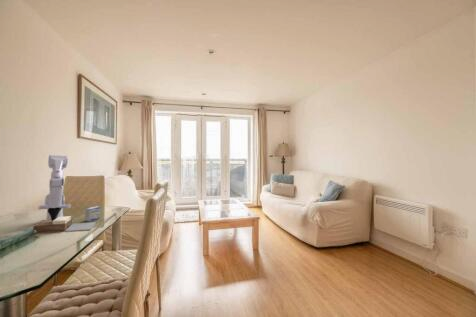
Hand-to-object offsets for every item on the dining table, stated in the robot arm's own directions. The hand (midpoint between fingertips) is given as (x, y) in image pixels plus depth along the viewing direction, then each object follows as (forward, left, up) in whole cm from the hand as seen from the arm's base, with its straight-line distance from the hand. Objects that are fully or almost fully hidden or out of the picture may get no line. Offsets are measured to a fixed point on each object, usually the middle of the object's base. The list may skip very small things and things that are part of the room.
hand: (53, 220), depth 121 cm
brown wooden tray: (0, 0, -5) cm, 5 cm away
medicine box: (-16, +16, -5) cm, 23 cm away
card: (0, +4, -1) cm, 4 cm away
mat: (0, +14, -5) cm, 15 cm away
